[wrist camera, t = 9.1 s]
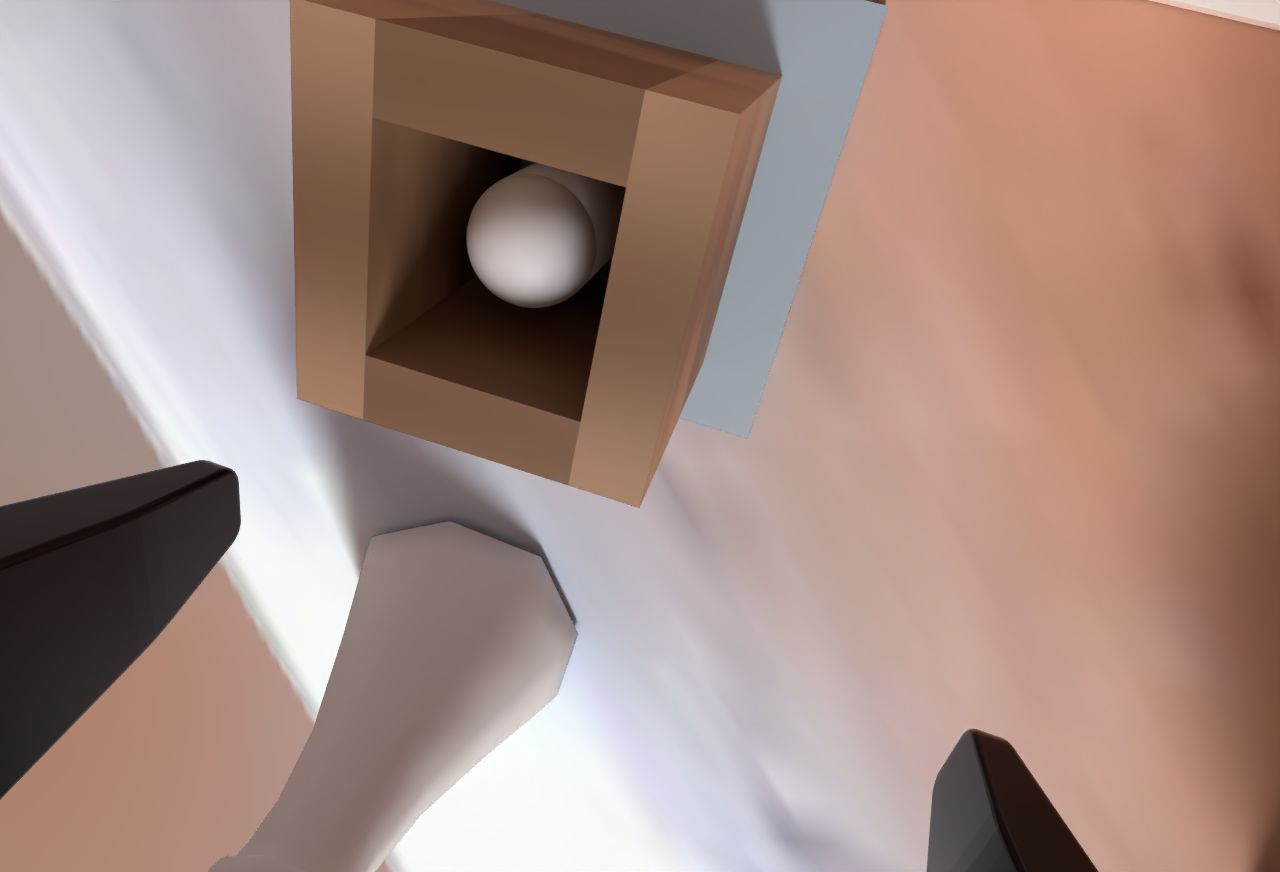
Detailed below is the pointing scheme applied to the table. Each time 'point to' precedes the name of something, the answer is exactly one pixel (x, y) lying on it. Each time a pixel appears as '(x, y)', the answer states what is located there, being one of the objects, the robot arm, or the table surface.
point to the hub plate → (779, 198)
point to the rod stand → (1235, 10)
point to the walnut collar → (440, 211)
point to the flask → (415, 695)
